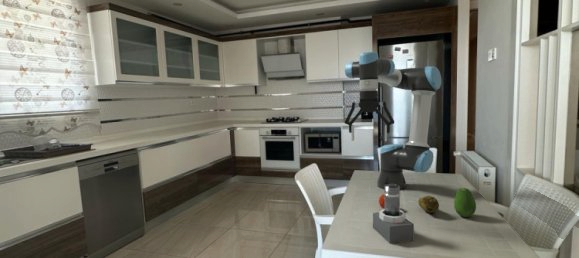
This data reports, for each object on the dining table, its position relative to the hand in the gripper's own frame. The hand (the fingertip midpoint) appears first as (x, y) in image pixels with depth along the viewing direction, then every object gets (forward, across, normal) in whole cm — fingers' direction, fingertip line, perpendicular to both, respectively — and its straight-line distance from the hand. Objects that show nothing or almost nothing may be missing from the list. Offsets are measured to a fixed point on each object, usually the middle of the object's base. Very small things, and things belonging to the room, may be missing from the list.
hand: (369, 140), depth 134 cm
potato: (+32, +24, +6) cm, 40 cm away
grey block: (+31, +10, -20) cm, 38 cm away
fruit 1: (+32, +7, +5) cm, 33 cm away
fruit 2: (+32, +38, +4) cm, 49 cm away
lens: (+25, +10, -20) cm, 34 cm away
